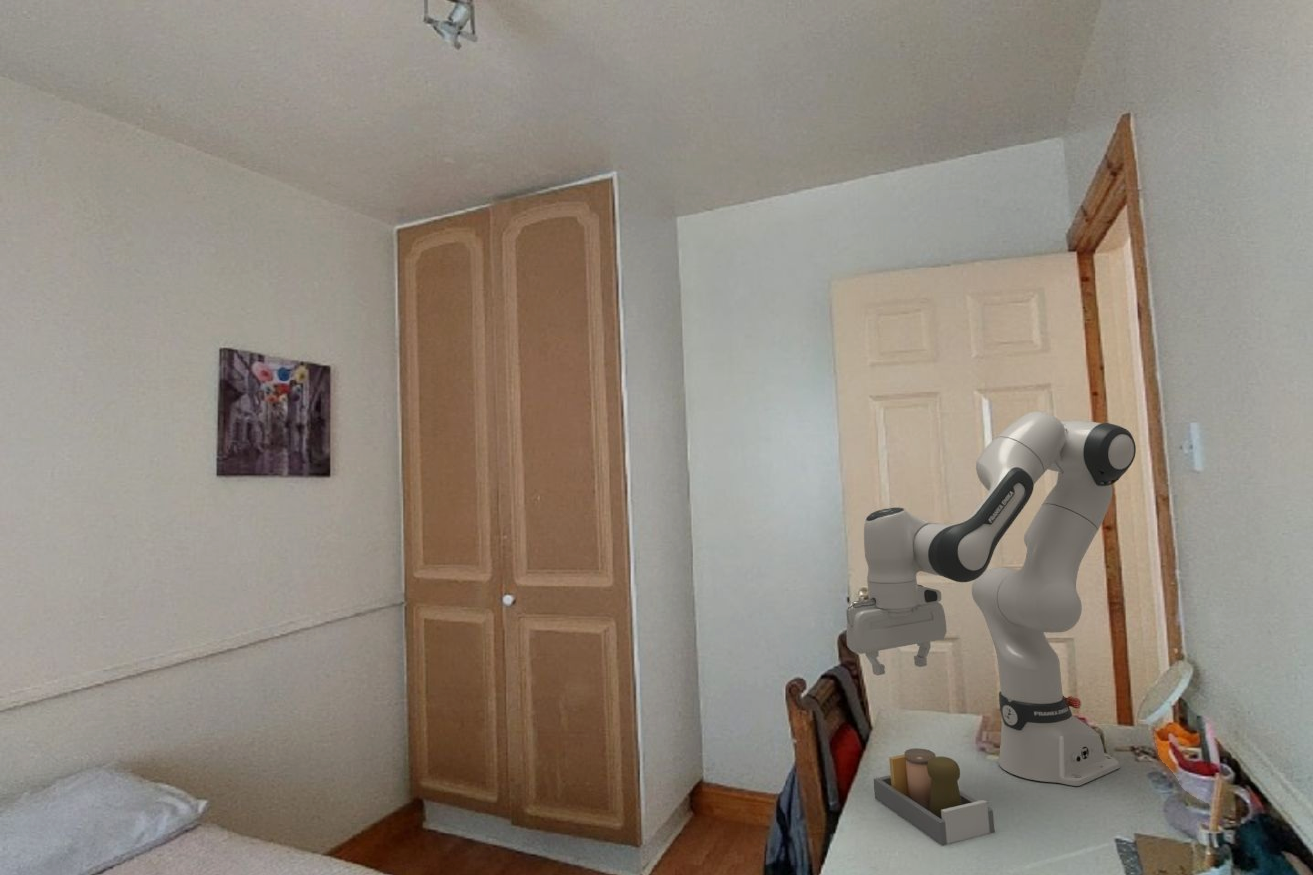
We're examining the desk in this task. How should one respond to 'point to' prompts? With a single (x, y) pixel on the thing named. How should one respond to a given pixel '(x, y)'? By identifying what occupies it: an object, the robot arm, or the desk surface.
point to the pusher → (899, 774)
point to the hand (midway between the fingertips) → (900, 670)
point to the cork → (943, 784)
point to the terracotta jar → (919, 776)
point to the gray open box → (953, 825)
